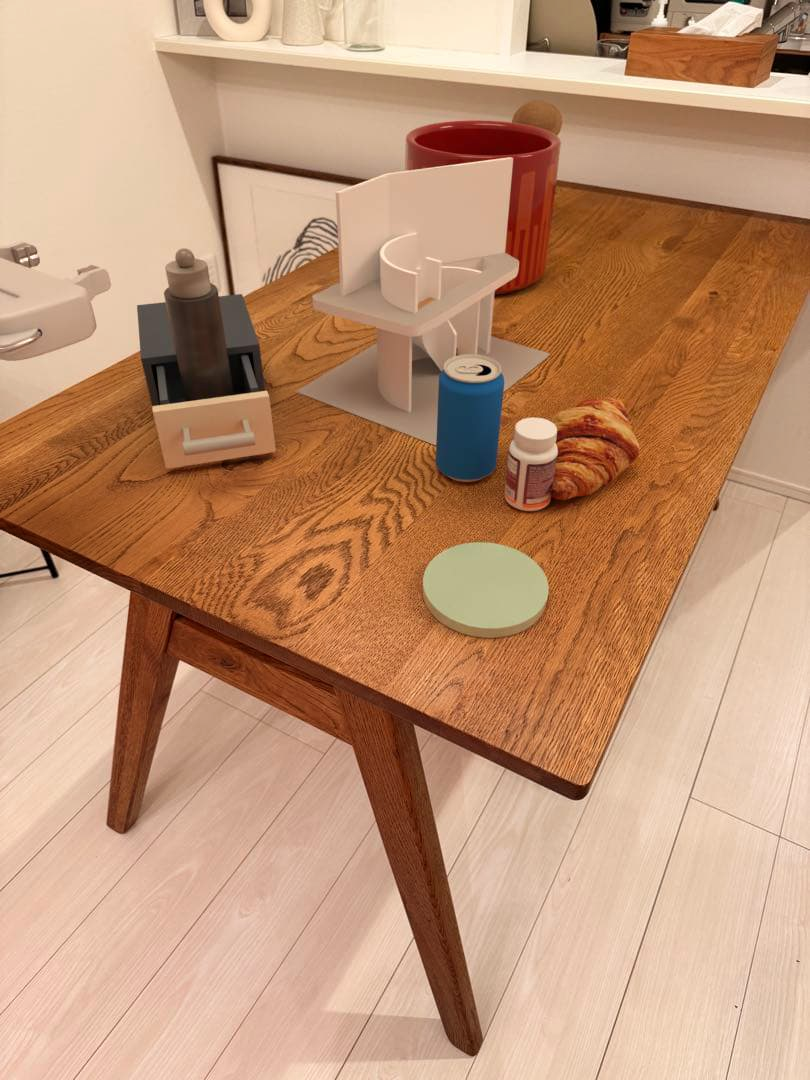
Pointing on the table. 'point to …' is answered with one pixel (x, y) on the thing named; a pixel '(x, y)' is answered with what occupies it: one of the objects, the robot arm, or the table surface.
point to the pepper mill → (197, 328)
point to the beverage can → (469, 417)
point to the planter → (529, 179)
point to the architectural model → (420, 289)
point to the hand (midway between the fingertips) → (67, 263)
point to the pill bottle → (531, 464)
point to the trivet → (485, 589)
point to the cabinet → (162, 350)
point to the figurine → (539, 116)
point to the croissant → (591, 446)
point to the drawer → (212, 418)
